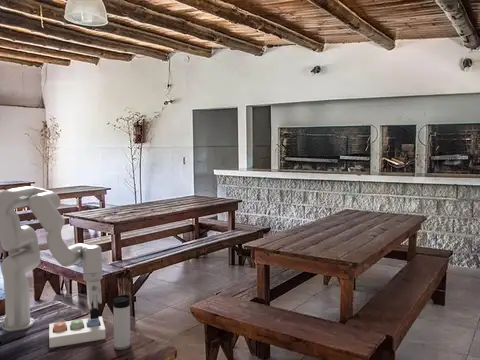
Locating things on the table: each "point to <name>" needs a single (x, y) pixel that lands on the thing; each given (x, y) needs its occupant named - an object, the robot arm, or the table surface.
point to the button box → (76, 334)
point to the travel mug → (121, 322)
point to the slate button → (93, 322)
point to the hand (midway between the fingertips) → (94, 318)
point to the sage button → (76, 324)
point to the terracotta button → (59, 327)
